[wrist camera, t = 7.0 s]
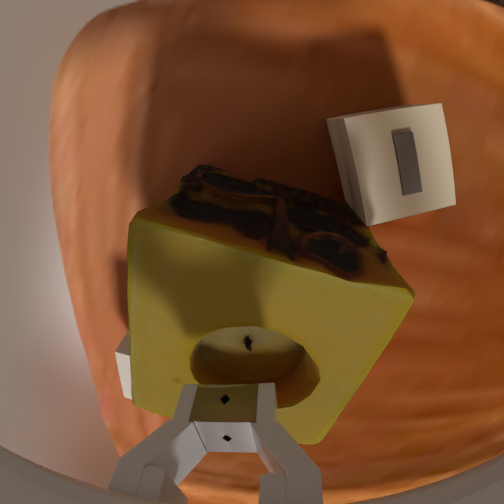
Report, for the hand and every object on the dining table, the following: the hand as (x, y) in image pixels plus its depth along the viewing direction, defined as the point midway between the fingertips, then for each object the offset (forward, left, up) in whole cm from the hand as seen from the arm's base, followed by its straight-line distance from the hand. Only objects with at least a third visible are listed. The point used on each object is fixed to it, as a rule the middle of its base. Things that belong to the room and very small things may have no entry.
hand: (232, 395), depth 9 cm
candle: (0, 0, -12) cm, 12 cm away
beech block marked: (-8, -6, -12) cm, 15 cm away
